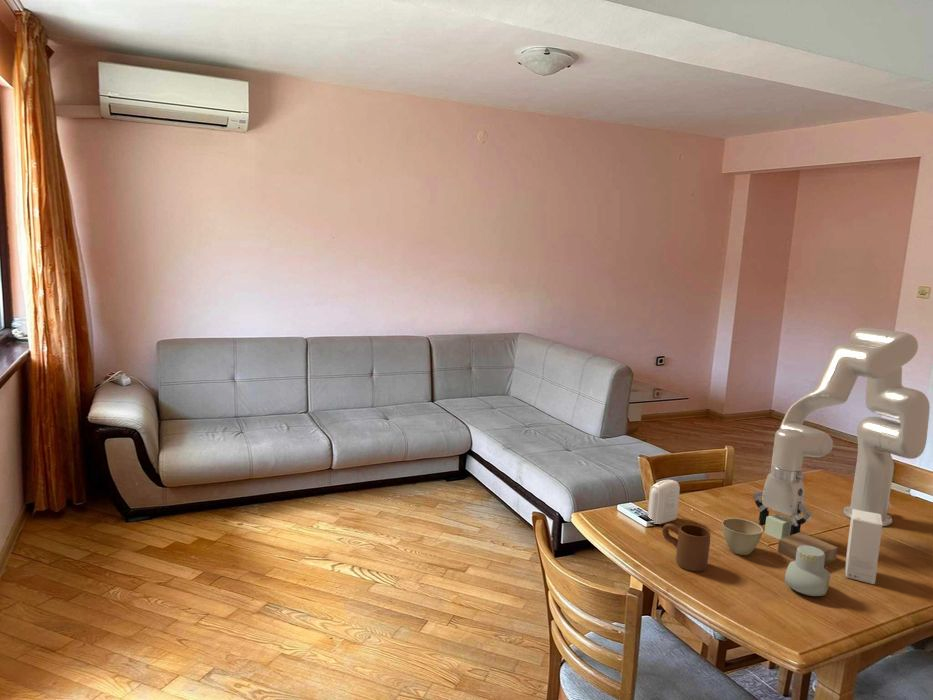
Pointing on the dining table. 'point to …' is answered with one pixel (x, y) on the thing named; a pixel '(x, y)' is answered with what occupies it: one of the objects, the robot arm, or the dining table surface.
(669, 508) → the photo printer
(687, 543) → the mug
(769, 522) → the sage cube
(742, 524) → the flower pot
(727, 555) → the dining table surface
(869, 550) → the skincare box
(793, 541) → the brown flat block
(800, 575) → the air freshener
